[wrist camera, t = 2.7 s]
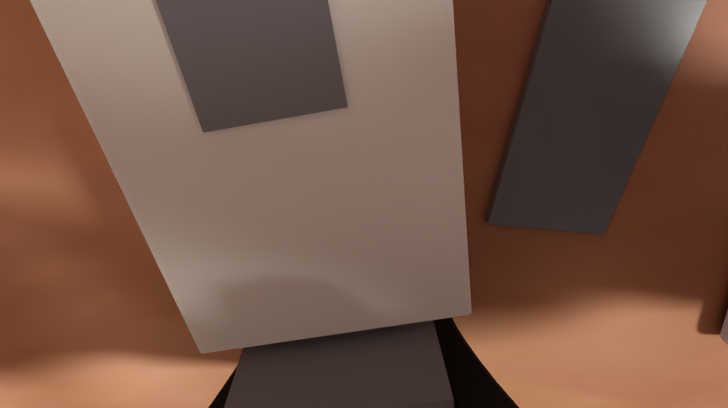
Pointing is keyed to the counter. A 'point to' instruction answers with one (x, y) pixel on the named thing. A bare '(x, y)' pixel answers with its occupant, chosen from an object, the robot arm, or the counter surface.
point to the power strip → (281, 156)
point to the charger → (346, 371)
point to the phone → (588, 109)
